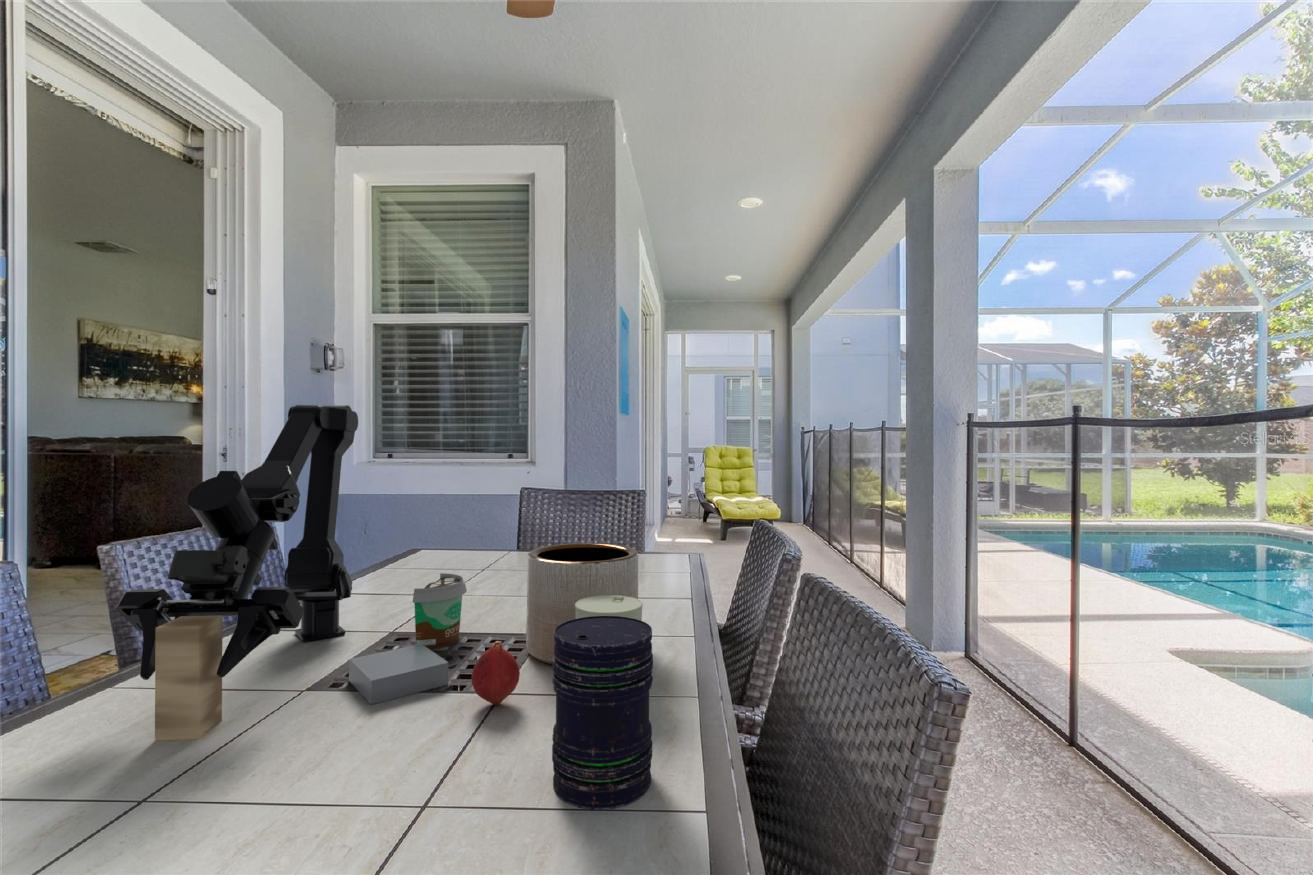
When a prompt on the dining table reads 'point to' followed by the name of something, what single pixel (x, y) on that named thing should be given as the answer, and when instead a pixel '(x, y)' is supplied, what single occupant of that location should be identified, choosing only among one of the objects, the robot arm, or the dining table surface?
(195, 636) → the oak block
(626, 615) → the can
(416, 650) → the plate
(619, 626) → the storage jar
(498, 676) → the onion
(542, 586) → the planter
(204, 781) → the dining table surface
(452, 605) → the food container
